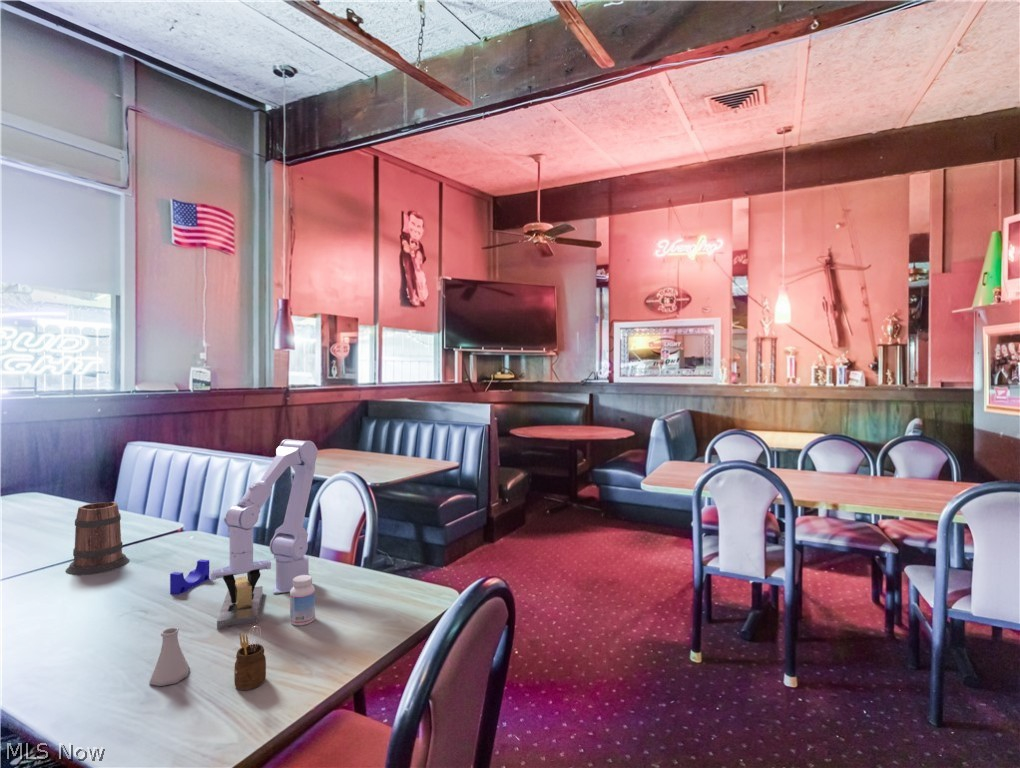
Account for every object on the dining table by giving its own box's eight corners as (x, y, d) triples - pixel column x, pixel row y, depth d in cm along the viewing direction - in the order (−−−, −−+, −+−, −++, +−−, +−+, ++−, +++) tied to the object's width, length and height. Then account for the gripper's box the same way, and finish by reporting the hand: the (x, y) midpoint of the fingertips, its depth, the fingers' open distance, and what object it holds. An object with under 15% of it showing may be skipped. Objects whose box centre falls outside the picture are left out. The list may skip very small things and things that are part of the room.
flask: (161, 668, 117) (162, 623, 117) (196, 667, 117) (196, 622, 117) (141, 688, 110) (141, 639, 109) (178, 686, 110) (178, 638, 110)
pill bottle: (319, 617, 141) (320, 575, 141) (303, 628, 136) (304, 584, 135) (301, 614, 143) (301, 572, 143) (284, 624, 138) (284, 580, 137)
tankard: (139, 563, 179) (139, 503, 178) (77, 579, 165) (76, 514, 164) (108, 549, 192) (108, 494, 191) (49, 563, 177) (48, 503, 177)
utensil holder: (270, 674, 115) (270, 619, 115) (257, 692, 109) (257, 633, 108) (242, 674, 115) (242, 619, 114) (228, 692, 108) (228, 633, 108)
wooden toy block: (245, 595, 149) (245, 576, 149) (251, 606, 143) (251, 585, 143) (231, 598, 147) (231, 579, 147) (237, 609, 141) (237, 588, 141)
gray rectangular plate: (262, 593, 156) (262, 586, 156) (256, 623, 137) (256, 615, 137) (227, 597, 153) (227, 590, 153) (216, 629, 134) (216, 621, 134)
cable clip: (196, 578, 167) (196, 559, 167) (209, 579, 166) (209, 560, 166) (165, 593, 155) (165, 573, 155) (179, 595, 155) (179, 574, 155)
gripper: (266, 541, 152) (266, 588, 153) (208, 551, 144) (208, 601, 144) (272, 548, 147) (272, 597, 147) (212, 558, 138) (212, 611, 138)
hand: (241, 600), depth 145 cm, fingers closed on wooden toy block, 3 cm apart
